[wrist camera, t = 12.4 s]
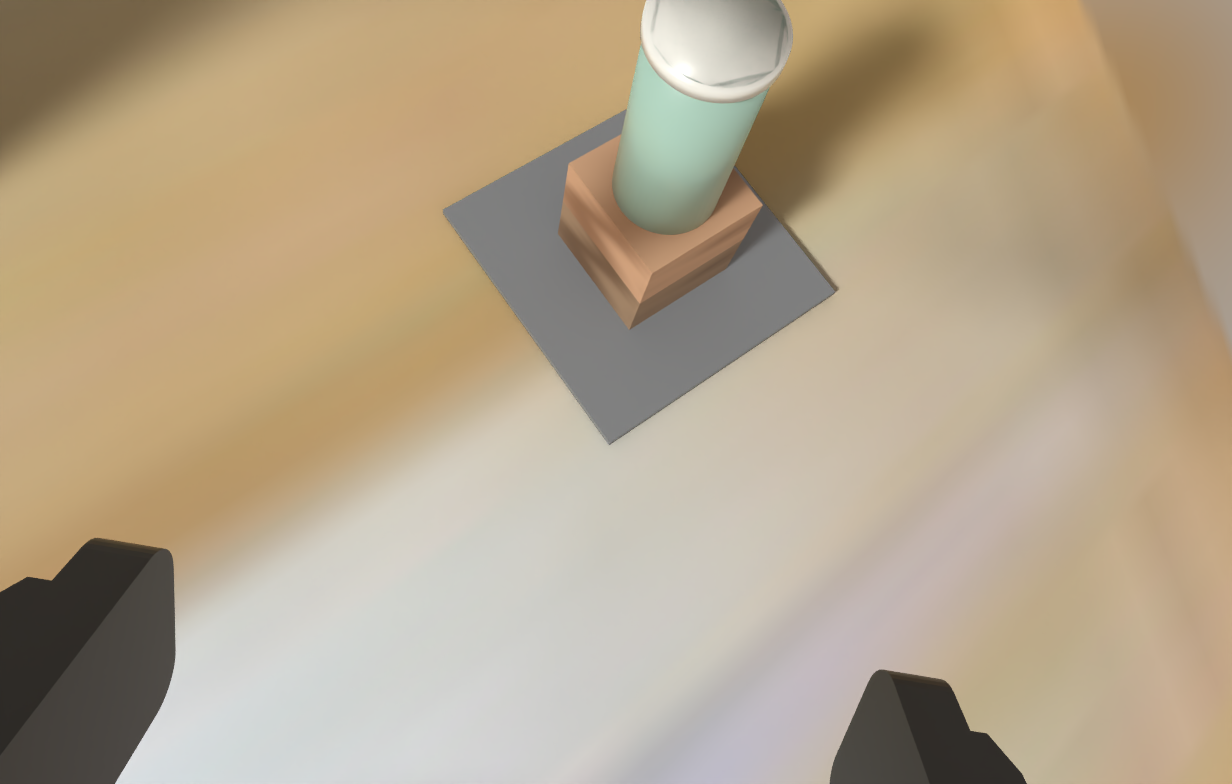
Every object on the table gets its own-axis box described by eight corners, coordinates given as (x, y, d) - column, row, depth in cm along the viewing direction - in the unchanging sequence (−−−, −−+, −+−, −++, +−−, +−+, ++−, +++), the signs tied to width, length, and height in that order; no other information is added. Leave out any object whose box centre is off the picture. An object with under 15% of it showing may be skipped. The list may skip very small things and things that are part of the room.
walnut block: (557, 233, 44) (562, 201, 41) (655, 177, 46) (666, 141, 43) (629, 330, 43) (639, 303, 40) (726, 268, 45) (743, 239, 42)
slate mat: (443, 213, 44) (442, 209, 44) (669, 89, 48) (670, 85, 48) (609, 445, 42) (610, 442, 41) (832, 294, 46) (835, 291, 45)
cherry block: (562, 201, 41) (568, 163, 38) (666, 141, 43) (680, 101, 40) (639, 303, 40) (652, 273, 37) (743, 239, 42) (762, 204, 39)
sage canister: (585, 167, 38) (612, 0, 29) (678, 117, 40) (734, -58, 30) (651, 258, 37) (701, 116, 28) (744, 203, 39) (822, 51, 29)
